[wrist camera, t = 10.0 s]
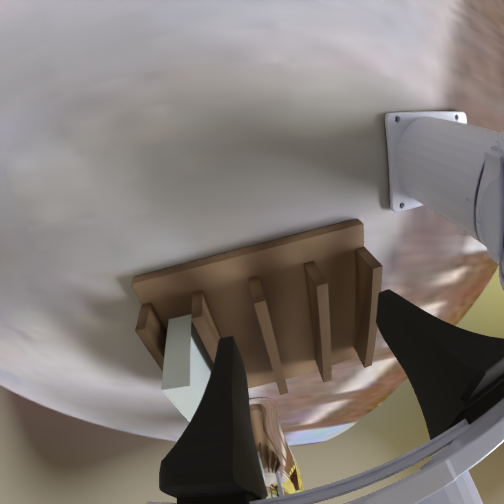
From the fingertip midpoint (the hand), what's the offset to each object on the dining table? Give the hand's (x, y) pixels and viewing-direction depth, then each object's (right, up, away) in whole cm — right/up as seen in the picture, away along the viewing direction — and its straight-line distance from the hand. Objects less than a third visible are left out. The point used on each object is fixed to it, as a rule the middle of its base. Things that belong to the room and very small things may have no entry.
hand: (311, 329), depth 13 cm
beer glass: (-2, -16, +20) cm, 26 cm away
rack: (-2, -3, +12) cm, 13 cm away
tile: (-8, -5, +11) cm, 14 cm away
